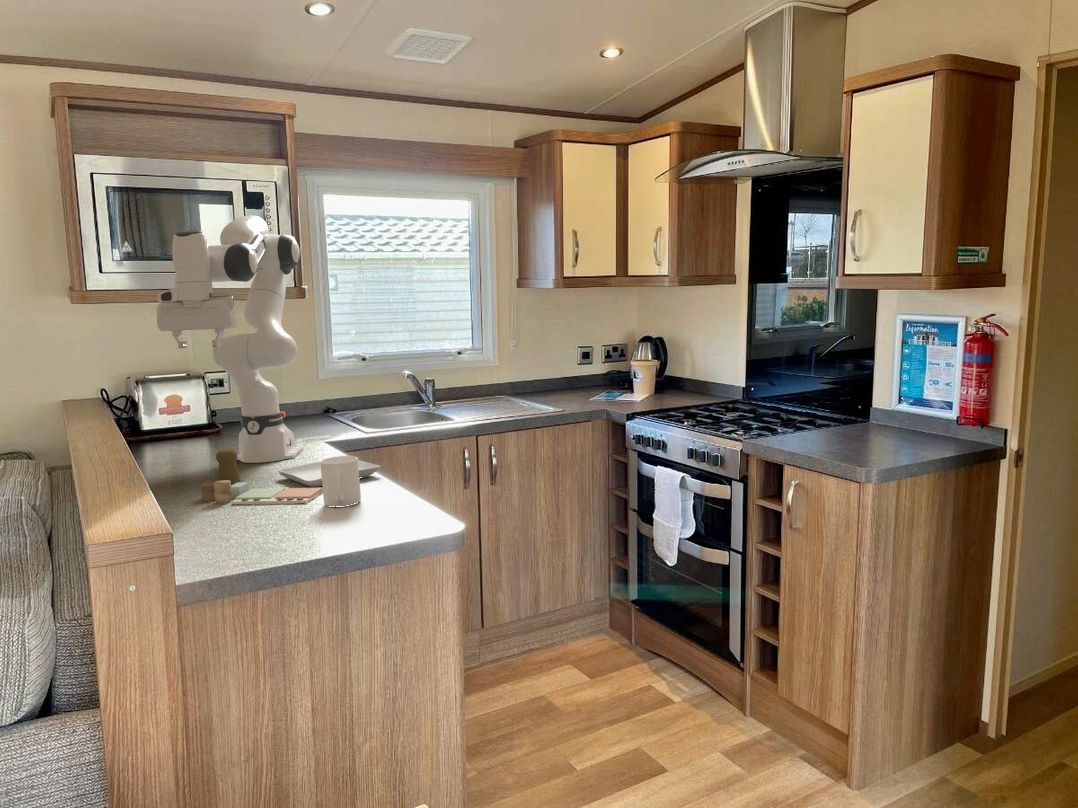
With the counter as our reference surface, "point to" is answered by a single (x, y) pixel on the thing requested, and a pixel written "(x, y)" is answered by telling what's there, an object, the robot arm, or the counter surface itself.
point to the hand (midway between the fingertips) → (199, 347)
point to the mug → (340, 480)
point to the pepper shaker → (228, 465)
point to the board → (278, 496)
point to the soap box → (239, 488)
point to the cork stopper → (222, 491)
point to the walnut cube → (208, 490)
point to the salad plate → (312, 472)
